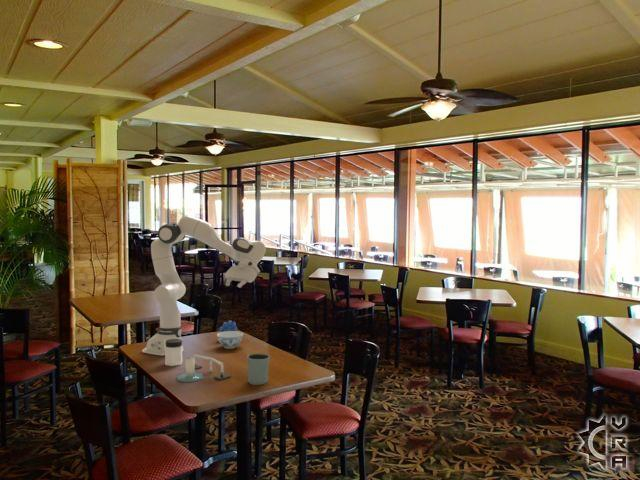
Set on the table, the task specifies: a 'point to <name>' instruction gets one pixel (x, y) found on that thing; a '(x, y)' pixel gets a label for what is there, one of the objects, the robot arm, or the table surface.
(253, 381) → the grey-green open cylinder
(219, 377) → the bent bar stand
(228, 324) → the grapes
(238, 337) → the chinaware
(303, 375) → the table surface
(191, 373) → the salt shaker
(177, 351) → the jar
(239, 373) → the table surface
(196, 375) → the saucer
